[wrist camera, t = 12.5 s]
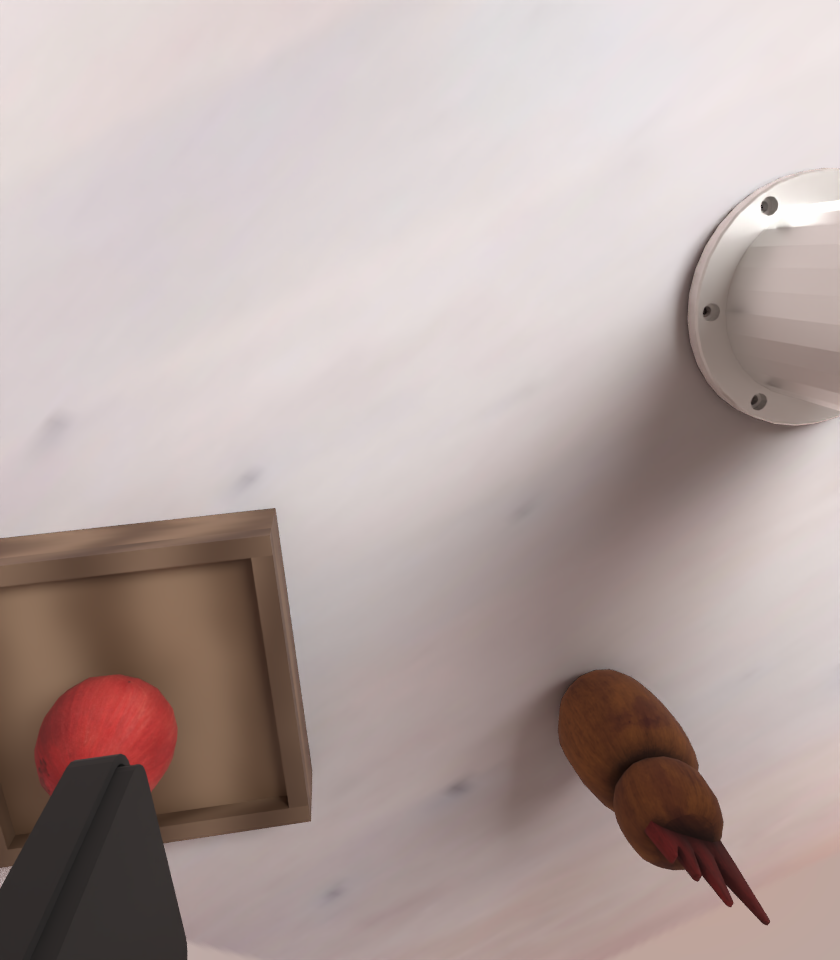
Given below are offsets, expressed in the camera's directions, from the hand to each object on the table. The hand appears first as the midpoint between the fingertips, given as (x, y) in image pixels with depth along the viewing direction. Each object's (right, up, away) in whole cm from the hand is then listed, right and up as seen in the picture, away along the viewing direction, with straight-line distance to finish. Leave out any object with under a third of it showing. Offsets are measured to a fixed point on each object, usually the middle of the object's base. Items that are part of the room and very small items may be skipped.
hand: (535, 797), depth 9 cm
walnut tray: (-16, -6, +31) cm, 35 cm away
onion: (-16, -7, +28) cm, 33 cm away
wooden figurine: (+9, -9, +35) cm, 37 cm away
